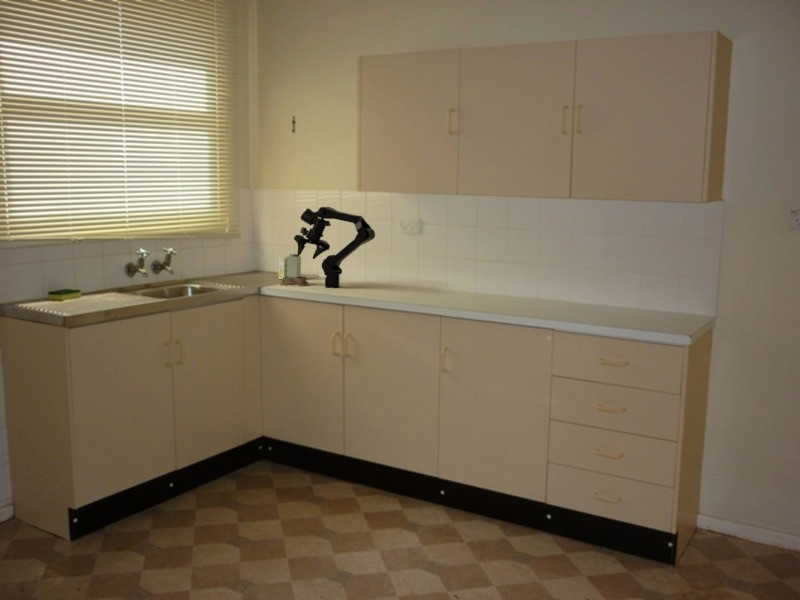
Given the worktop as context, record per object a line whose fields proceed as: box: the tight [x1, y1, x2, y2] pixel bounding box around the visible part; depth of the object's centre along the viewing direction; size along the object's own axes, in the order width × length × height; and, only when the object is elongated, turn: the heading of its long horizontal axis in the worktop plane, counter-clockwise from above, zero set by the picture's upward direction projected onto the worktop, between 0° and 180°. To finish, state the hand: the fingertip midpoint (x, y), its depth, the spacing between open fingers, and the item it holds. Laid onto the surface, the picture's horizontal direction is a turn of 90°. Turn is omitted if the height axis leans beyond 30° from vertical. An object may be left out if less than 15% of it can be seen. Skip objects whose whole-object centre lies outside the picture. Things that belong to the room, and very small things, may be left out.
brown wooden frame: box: [280, 276, 309, 287], centre depth 405 cm, size 12×10×4 cm
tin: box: [286, 253, 302, 279], centre depth 404 cm, size 5×5×14 cm
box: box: [278, 256, 302, 281], centre depth 422 cm, size 10×6×12 cm, turn 130°
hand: (305, 257), depth 404 cm, fingers open, 9 cm apart
